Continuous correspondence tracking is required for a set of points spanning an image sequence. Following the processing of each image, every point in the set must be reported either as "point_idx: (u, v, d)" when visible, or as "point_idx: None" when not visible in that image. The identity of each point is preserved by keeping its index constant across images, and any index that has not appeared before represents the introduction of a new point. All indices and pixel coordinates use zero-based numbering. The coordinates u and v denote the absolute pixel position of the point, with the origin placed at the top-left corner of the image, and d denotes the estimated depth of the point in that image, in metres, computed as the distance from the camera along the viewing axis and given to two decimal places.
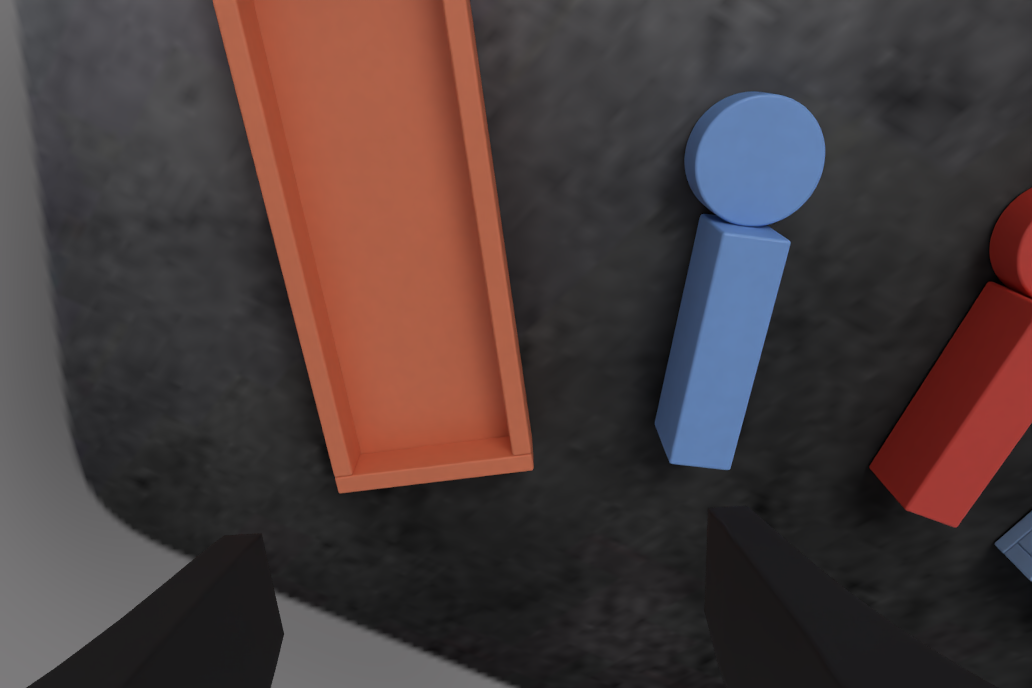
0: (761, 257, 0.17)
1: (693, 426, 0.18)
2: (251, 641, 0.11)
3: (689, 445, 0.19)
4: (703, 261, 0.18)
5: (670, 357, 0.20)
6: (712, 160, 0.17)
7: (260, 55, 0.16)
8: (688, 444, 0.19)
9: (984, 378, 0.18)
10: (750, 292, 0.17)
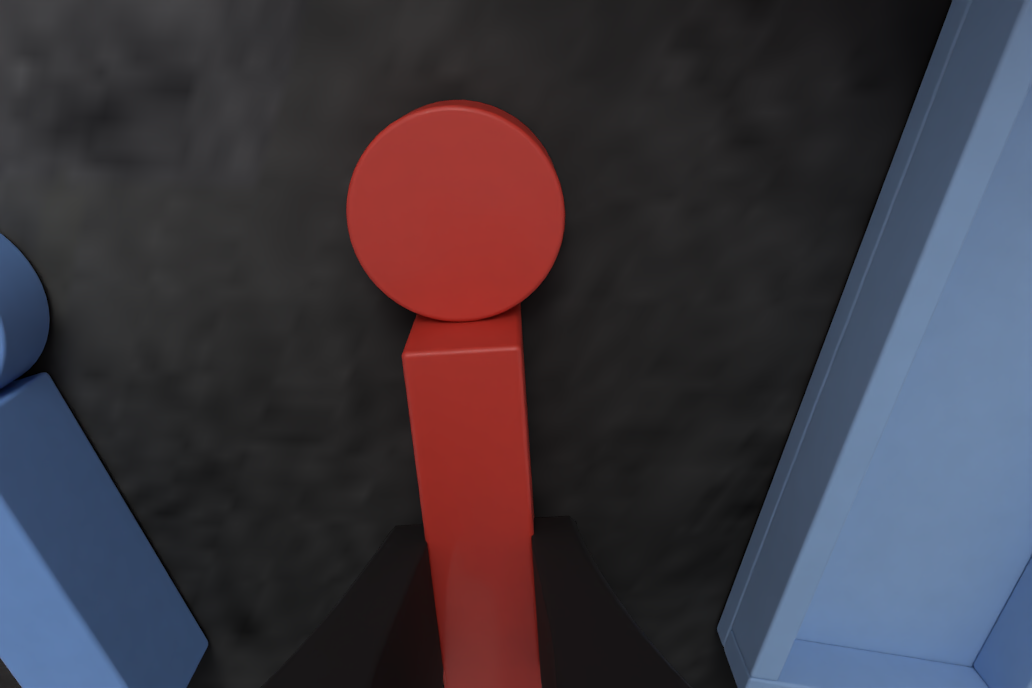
0: None
1: None
2: (432, 631, 0.11)
3: None
4: None
5: None
6: None
7: None
8: None
9: (420, 481, 0.11)
10: None
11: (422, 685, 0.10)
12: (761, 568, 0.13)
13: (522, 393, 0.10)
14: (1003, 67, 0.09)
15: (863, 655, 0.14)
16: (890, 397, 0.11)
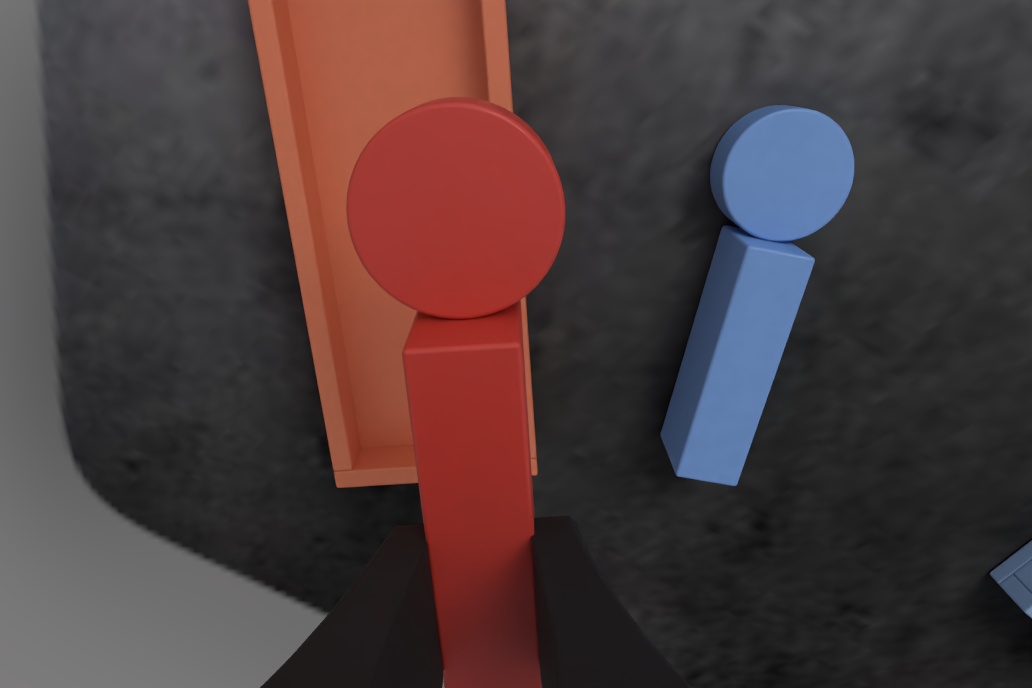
0: (784, 273, 0.17)
1: (703, 440, 0.18)
2: (433, 632, 0.11)
3: (697, 458, 0.18)
4: (724, 273, 0.18)
5: (681, 368, 0.20)
6: (740, 172, 0.17)
7: (287, 34, 0.16)
8: (696, 457, 0.18)
9: (420, 478, 0.11)
10: (770, 307, 0.17)
11: (422, 685, 0.10)
12: None
13: (522, 390, 0.10)
14: None
15: None
16: None
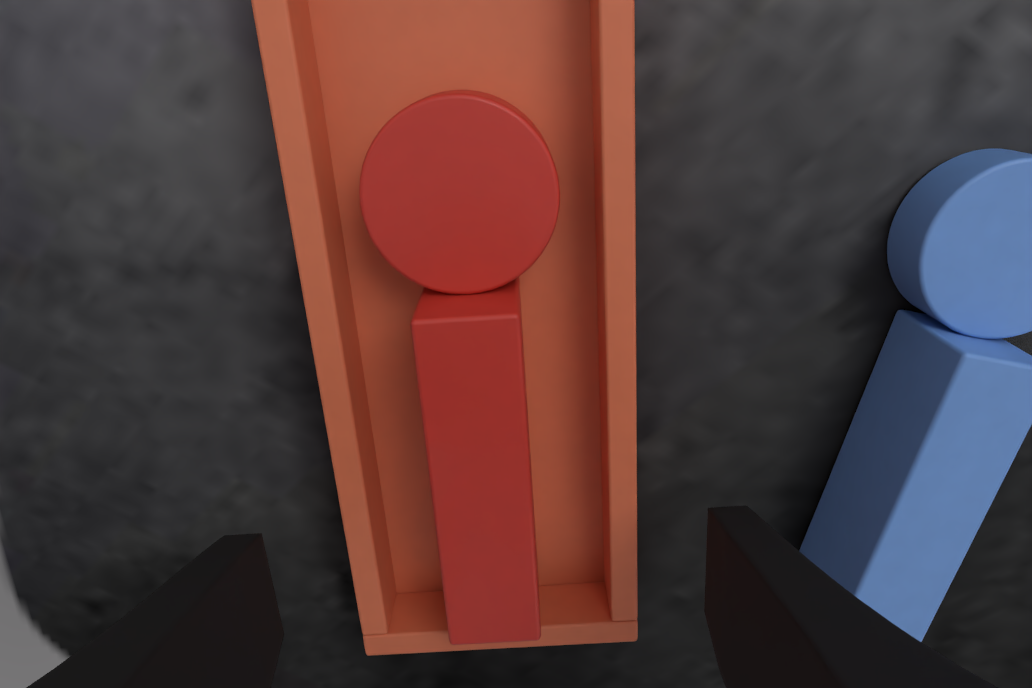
0: (1012, 390, 0.12)
1: (872, 605, 0.13)
2: (250, 641, 0.11)
3: None
4: (911, 381, 0.13)
5: (827, 493, 0.15)
6: (948, 245, 0.12)
7: (307, 46, 0.11)
8: None
9: (427, 441, 0.12)
10: (987, 436, 0.12)
11: None
12: None
13: (520, 358, 0.11)
14: None
15: None
16: None
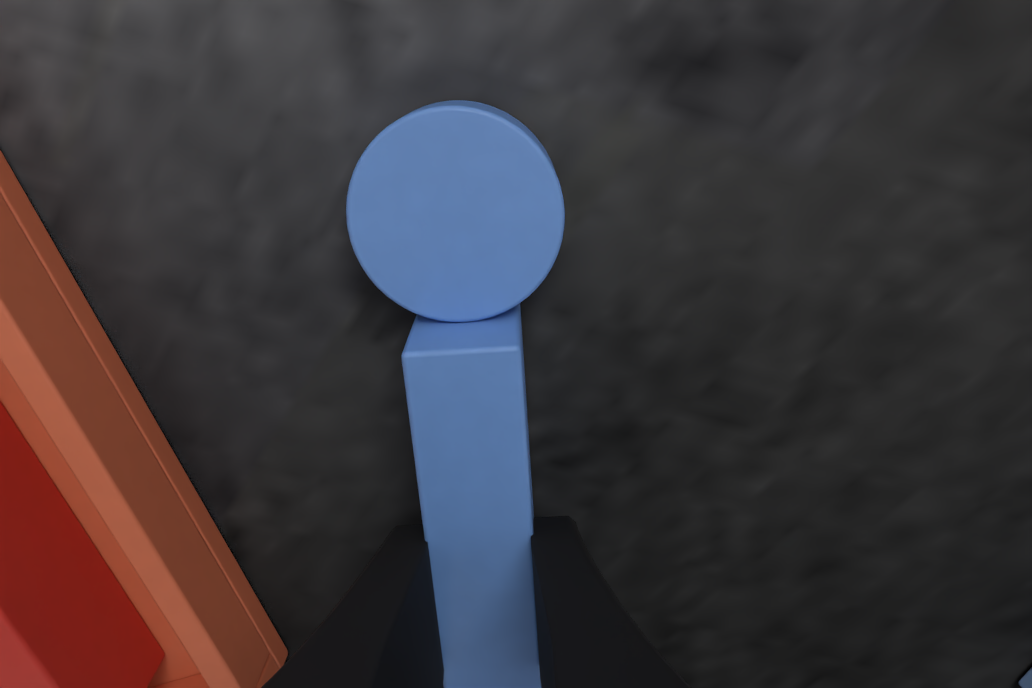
0: (478, 380, 0.10)
1: (461, 642, 0.12)
2: (434, 631, 0.11)
3: (465, 668, 0.12)
4: None
5: None
6: (375, 232, 0.10)
7: None
8: (463, 667, 0.12)
9: None
10: (479, 436, 0.10)
11: (423, 685, 0.10)
12: None
13: None
14: None
15: None
16: None
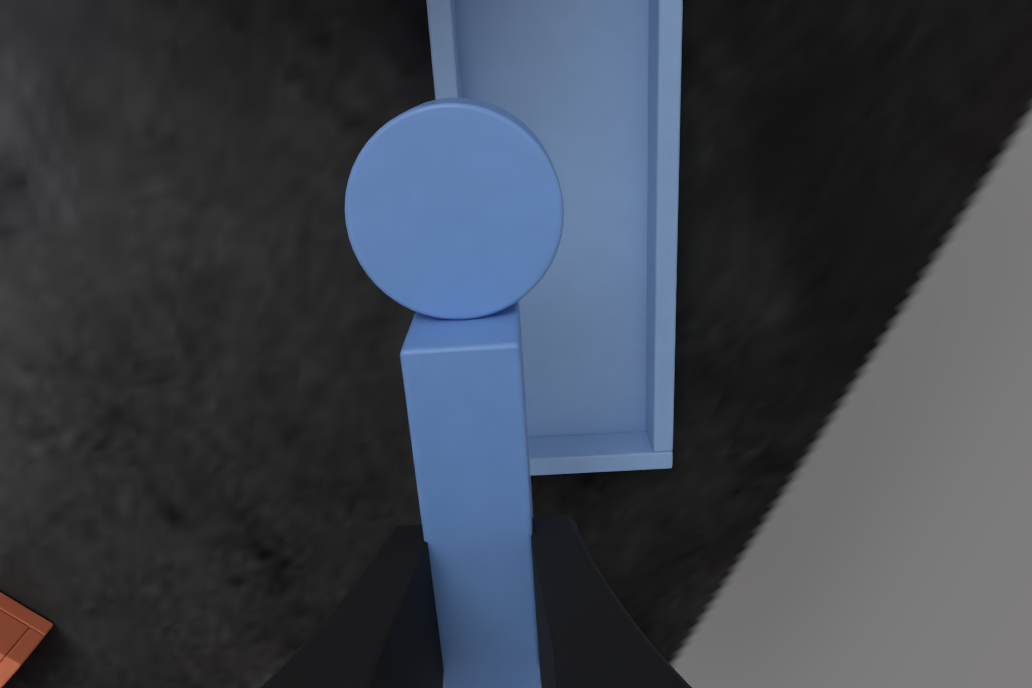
0: (476, 378, 0.10)
1: (460, 640, 0.12)
2: (433, 632, 0.11)
3: (465, 666, 0.12)
4: None
5: None
6: (374, 229, 0.10)
7: None
8: (463, 665, 0.12)
9: None
10: (478, 434, 0.10)
11: (422, 685, 0.10)
12: None
13: None
14: (433, 48, 0.15)
15: (563, 438, 0.20)
16: None
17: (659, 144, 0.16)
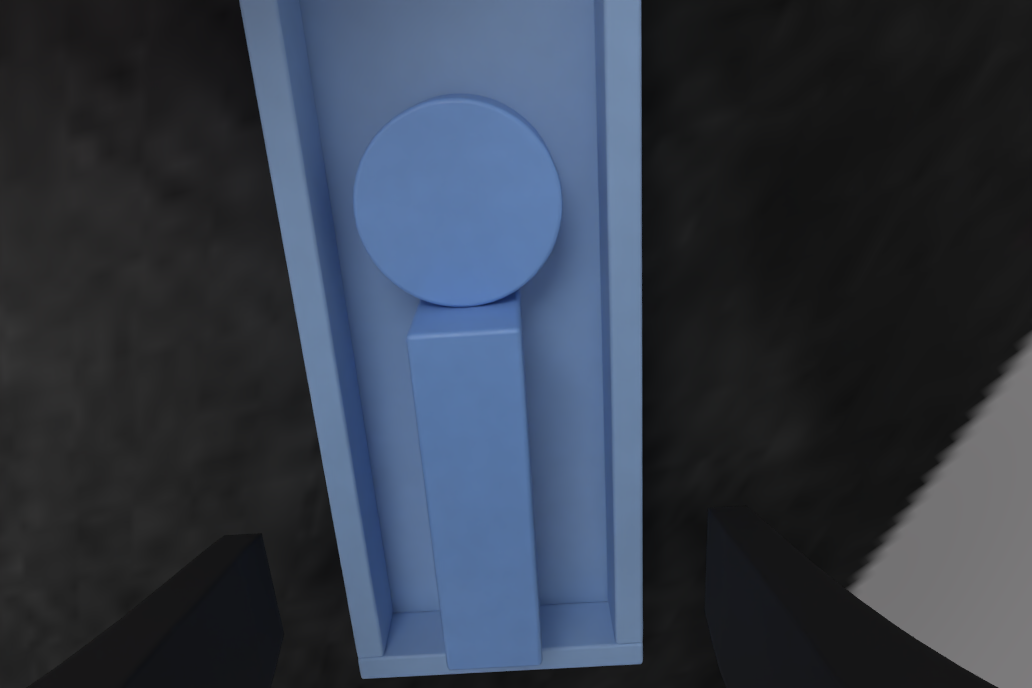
0: (479, 361, 0.10)
1: (463, 616, 0.12)
2: (251, 641, 0.11)
3: (467, 642, 0.12)
4: None
5: None
6: (381, 219, 0.11)
7: None
8: (465, 641, 0.12)
9: None
10: (481, 416, 0.11)
11: None
12: None
13: None
14: (259, 91, 0.10)
15: None
16: (330, 390, 0.12)
17: (611, 231, 0.11)
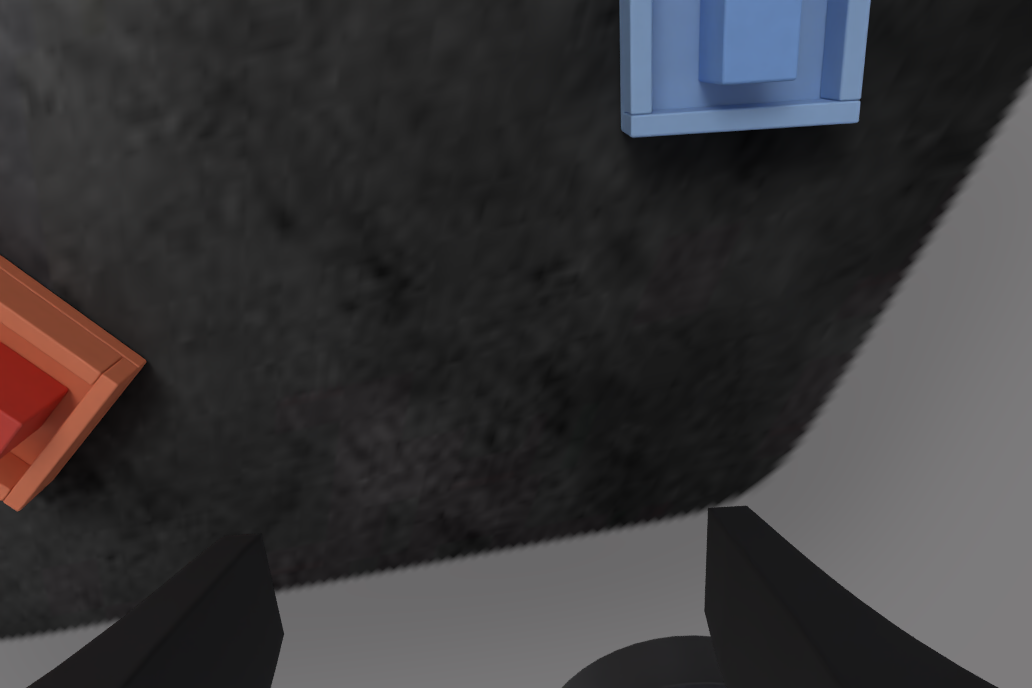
0: None
1: (742, 25, 0.15)
2: (251, 641, 0.11)
3: (742, 53, 0.15)
4: None
5: None
6: None
7: None
8: (740, 52, 0.15)
9: None
10: None
11: None
12: (624, 42, 0.17)
13: None
14: None
15: (728, 105, 0.18)
16: None
17: None
